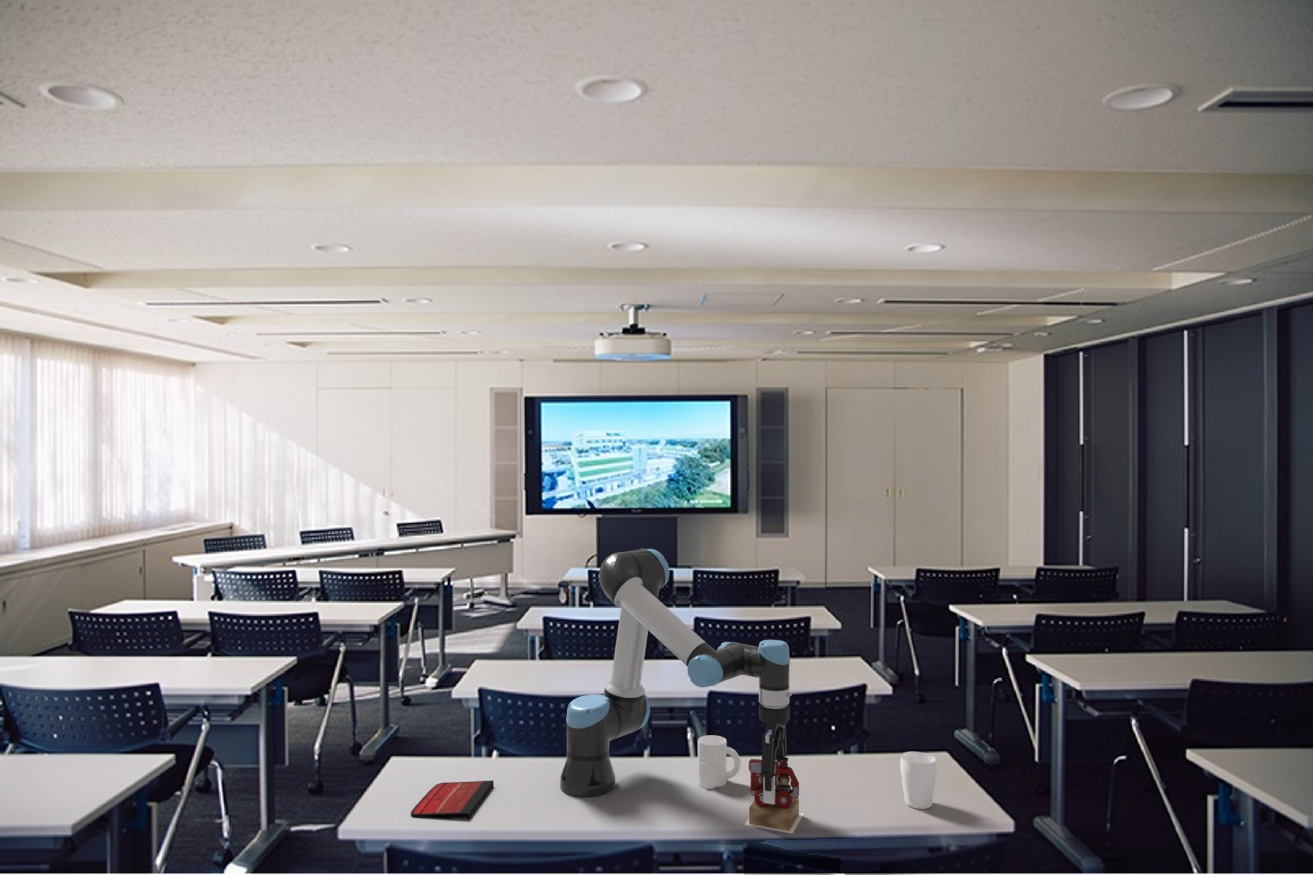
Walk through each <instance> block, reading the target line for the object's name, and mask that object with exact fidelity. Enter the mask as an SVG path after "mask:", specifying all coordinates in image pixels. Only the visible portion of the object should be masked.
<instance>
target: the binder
mask: <svg viewBox="0 0 1313 875" xmlns="http://www.w3.org/2000/svg"><path fill="white" fill-rule="evenodd" d="M493 788H494V780H493V779H492V780H479V781H478V780H477V781H476V780H475V781H453V782H446V781H445V782H441V783H440V782H439V783H437V784H435V785H434V786H433V787H432V788H431V789H430V790H429V791H427V793H426V794H425V795H424V796H423V797H422V798H421V800H419V801H418V803H417V804H416V805H415V806H414V807H413V809H412V810H411V811H410V817H412V818H420V819H421V818H422V819H423V818H424V819H439V820H442V819H443V820H454V819H455V818H457V817H463V816H468V820H471V819H472V817H473V815H474V814H475V813H476V811H477V810H478V808H480V806H481V804H482V803H483V802H484V800H485V799H486V797H487V796H488V795H489V793H490V792H491V791H492V789H493Z"/></svg>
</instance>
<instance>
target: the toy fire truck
mask: <svg viewBox="0 0 1313 875" xmlns="http://www.w3.org/2000/svg"><path fill="white" fill-rule="evenodd" d="M761 763H762V759H757V758H751V759H750V760H749V761H748V771H749V773H750V789H749V790H750V795H751V796H752V797H754V800H755V803H756V804H757V805H758V806H760V807H766V806H768V805H769V804H768V803H763V777H762V776H760V773H761ZM779 774H780V775H779ZM778 775H779V776H778ZM774 776H775V786H776V785H777V786H776V788H775V802H776V804H777V805H778V806H779V807H780V808H783V809H785V808H788V807H789V806H790V805H791V803H792V799H797V798H799V796H800V783H799V780H798V778H797V776H796V774H795V772H794V769H793V768H792V767H790V766H789V763H788V762H787V761H785V760H782V761H781V762H780V766H779V765H778V762H777V760H775V768H774ZM777 776H778V784H777V782H776V778H777ZM789 783H790V784H789ZM754 800H753V801H754Z"/></svg>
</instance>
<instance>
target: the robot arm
mask: <svg viewBox="0 0 1313 875" xmlns="http://www.w3.org/2000/svg"><path fill="white" fill-rule="evenodd" d="M669 579H670V567H669V564H668V561H667V560H666V559H665V556H664V555H663V554H662V553H661V552H660V551H658V550H656V549H653V548H639V549H635V550H630V551H629V550H628V551H620V552H619V551H618V552H615V553H612V554H610V555H608V556H607V557H606V558H605V560H603V562H602V564H601V565H600V568H599V573H598V580H599V584H600V588H601V589H602V591H603V593H604V595H605V596H606V597H607V599H609V600H610V601H611V602H612V603H613V604H614V605H615V606H616V607H617V608H620V613H619V620H618V628H617V634H616V642H615V649H614V657H613V663H612V671H611V678H610V680H609V681H608V682H606V683H605V685H604V690H603V691H604V692H603V694H596V693H594V694H593V693H591V694H588V695H582V696H579V697H577V698H575V699H573V700H572V701H571V702H569V704H568V706H567V709H566V710H567V711H566V718H565V720H566V721H565V722H566V759H565V761H564V766H563V768H562V771H561V775H560V779H559V781H560V782H559V787H560V790H561V791H562V792H564V793H566V794H568V795H573V796H577V797H593V796H594V797H596V796H600V795H604V794H607V793H609V792H610V791H613V789H615V787H616V774H615V771H614V767H613V764H612V762H611V758H610V742H611V741H613V740H616V739H618V738H621V737H624V736H626V735H630V734H633V733H635V732H636V731H638V730H640V729H641V728H643V726H645V725H646V724H647V722H648V720H649V717H650V712H651V704H650V701H648V699H649V698H648V696H647V695H646V693H645V692H646V689H645V688H644V687H643V685H642V684H641V683H642V676H643V670H644V662H645V656H646V655H645V654H646V648H647V642H648V641H647V639H648V635H649V634H648V633H651V634H652V635H653V636H654V637H655V638H656V639H657V640H658V641H659V642H660V643H662V645H664V647H666V648H667V649H668V650H669V651H670V652H671V653H672V654H673V655H674V656H675V657H676V658H678V660H680V661H681V662H682V663H683V664H684V665H686V667H687V675H688V677H689V679H690V682H691V683H692V684H693V685H694V686H696V687H698V688H708V687H713V686H716V685H718V684H721V683H723V682H725V681H728V680H731V679H734V678H737V677H739V676H747V677H753V678H757V679H758V683H759V684H758V702H759V704H758V717H759V720H760V722H762V723H765V724H766V727H765V728H764V733H762V736H761V738H762V746H761V747H762V750H761V760H762V763H761V773H760V776H762V777H763V803H768V804H775V788H776V786H777V785H776V786H775V776H774V768H775V761H777V762H778V765H779V766H780V762H781V761H782V760H785V761H787V763H788V762H789V757H787V756H788V751H787V749H788V747H787V733H786V732H787V731H786V724H787V723H788V722H789V721H790V706H789V704H790V698H791V696H792V692H790V663H791V658H790V646H789V645H788V643H787V642H785V641H784V640H779V639H764V640H762V641H760V642H759V644H758V646H754V645H750V644H745V643H739V642H737V641H736V642H734V641H732V642H731V641H730V642H729V641H724V642H722V643H721V644H720V646H718V647H717V650H715V649H714V648H713V647H712V646H711V645H709V644H708V643H707V642H706V641H705V640H704V639H702V638H701V636H699V635H698V634H697V633H696V632H695V631H694V630H693V629H692V628H690V627H689V626H688V625H687V624H686V623H685V622H684V621H683V620H681V619H680V617H679V616H677V615H676V614H675V613H674V612H673V611H671V610H670V609H669V608H668V607H667V606H666V605H665V604H664V603H663V602H661V600H659V594H660V593H659V592H660V589H662V588H664V586H665V585H666V584H667V583H668V581H669ZM779 775H780V774H779ZM779 775H778V776H779ZM778 776H777V778H776V782H777V784H778Z"/></svg>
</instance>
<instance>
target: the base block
mask: <svg viewBox="0 0 1313 875" xmlns="http://www.w3.org/2000/svg"><path fill="white" fill-rule="evenodd" d="M799 805H800V798H799V797H798V798H797V799H792V803H791V805H790V806H789V807H788V808H785V809H783V808H780V807H779V806H778V805H777V804H776V802H775V804H769V805H768V806H766V807H760V806H758V805H757V804H756V803H755V800H753V801H752V803H751V804H750V806H749V807H748V808H749V810H748V814H749V816H748V819H749V824H753V825H759V826H765V827H770V828H776V829H781V830H787V831H790V829H791V827H792V826H793V824H794V822H795V820H796V819H797V817H798V815H799V813H800V806H799Z"/></svg>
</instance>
